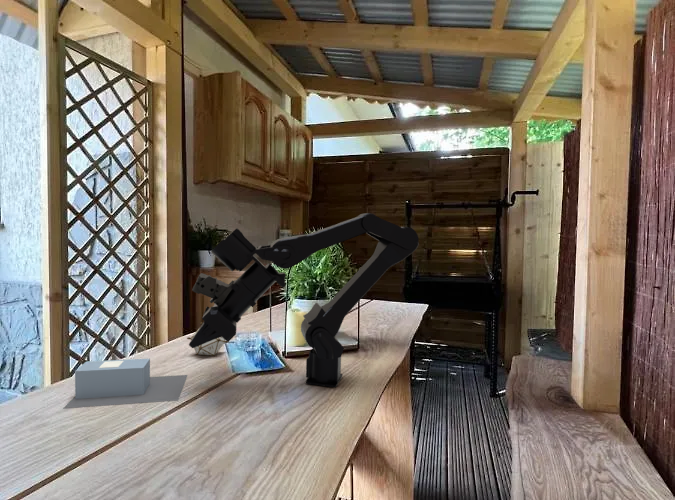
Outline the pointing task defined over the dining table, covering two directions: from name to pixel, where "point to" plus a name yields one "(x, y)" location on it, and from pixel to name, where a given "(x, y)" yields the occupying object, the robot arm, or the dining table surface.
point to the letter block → (112, 378)
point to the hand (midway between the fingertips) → (190, 346)
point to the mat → (156, 392)
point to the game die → (209, 346)
